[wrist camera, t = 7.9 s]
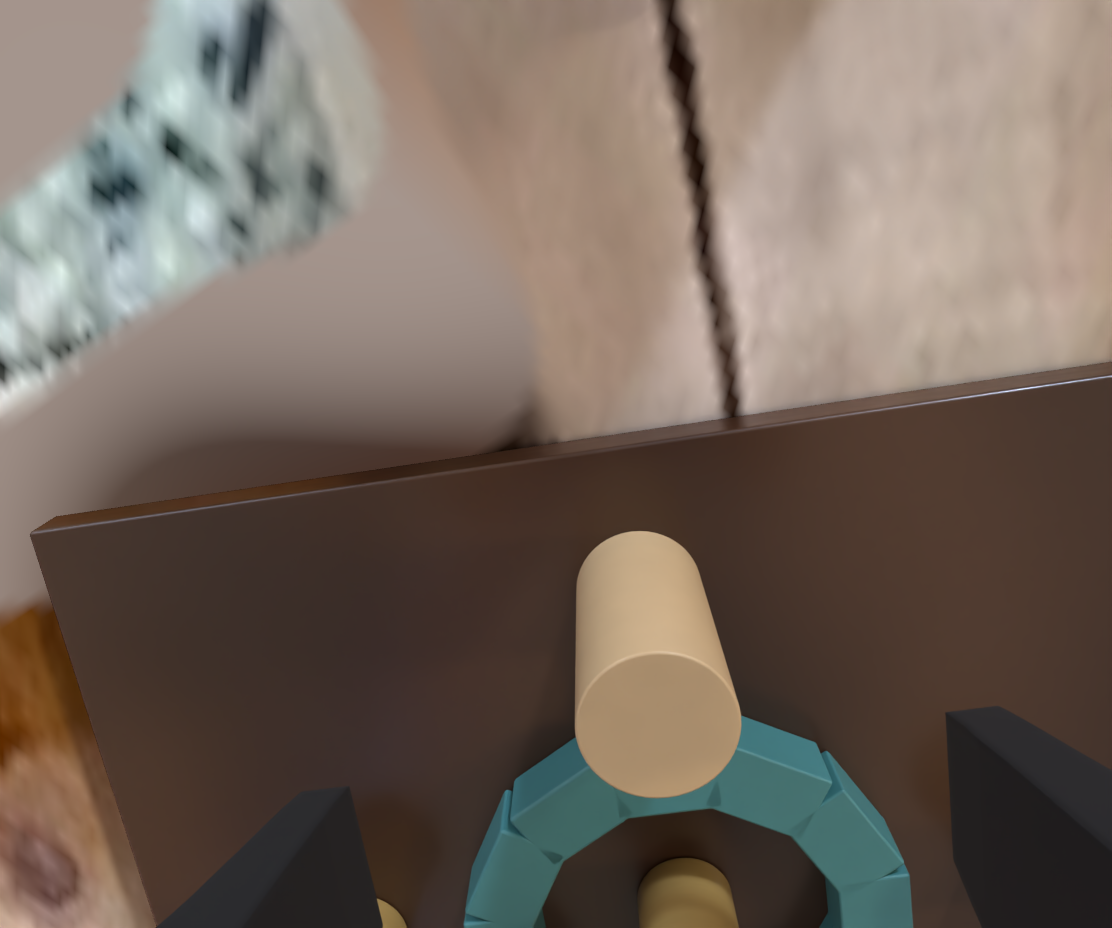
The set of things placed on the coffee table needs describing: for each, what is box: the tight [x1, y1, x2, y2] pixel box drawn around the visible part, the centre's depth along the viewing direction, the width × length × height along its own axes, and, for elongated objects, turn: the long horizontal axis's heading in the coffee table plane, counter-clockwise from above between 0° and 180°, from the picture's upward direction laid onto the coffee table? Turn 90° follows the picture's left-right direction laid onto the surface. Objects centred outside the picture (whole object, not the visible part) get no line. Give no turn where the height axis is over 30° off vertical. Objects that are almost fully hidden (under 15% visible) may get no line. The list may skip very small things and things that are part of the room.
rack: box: [30, 362, 1112, 928], centre depth 19 cm, size 23×15×4 cm, turn 99°
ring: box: [464, 531, 913, 928], centre depth 18 cm, size 9×13×5 cm
